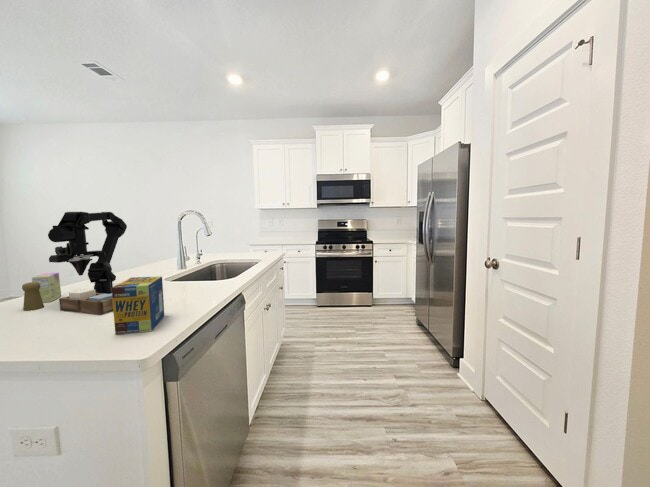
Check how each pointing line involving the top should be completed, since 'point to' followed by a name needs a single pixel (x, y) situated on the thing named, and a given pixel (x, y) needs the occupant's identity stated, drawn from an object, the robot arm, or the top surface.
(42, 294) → the box
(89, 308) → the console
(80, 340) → the top surface
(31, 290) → the cork
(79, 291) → the cream block
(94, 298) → the slate key
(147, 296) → the protein box
